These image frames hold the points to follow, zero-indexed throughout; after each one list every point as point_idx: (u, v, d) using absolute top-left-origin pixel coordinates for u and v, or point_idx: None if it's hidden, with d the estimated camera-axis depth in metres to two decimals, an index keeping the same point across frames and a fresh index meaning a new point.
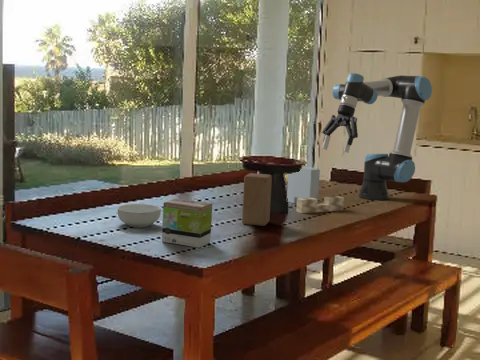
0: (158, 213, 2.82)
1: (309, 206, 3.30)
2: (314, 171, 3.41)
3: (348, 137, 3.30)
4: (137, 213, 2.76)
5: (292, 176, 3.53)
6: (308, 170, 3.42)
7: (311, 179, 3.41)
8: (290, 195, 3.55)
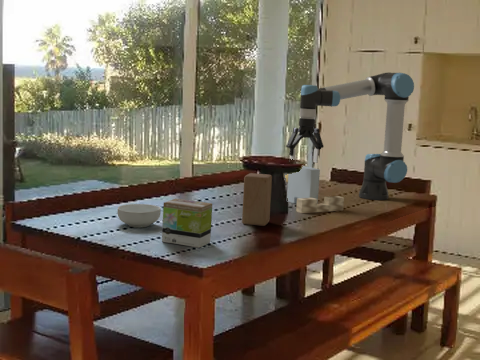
0: (158, 213, 2.82)
1: (309, 206, 3.30)
2: (314, 171, 3.41)
3: None
4: (137, 213, 2.76)
5: (292, 176, 3.53)
6: (308, 170, 3.42)
7: (311, 179, 3.41)
8: (290, 195, 3.55)
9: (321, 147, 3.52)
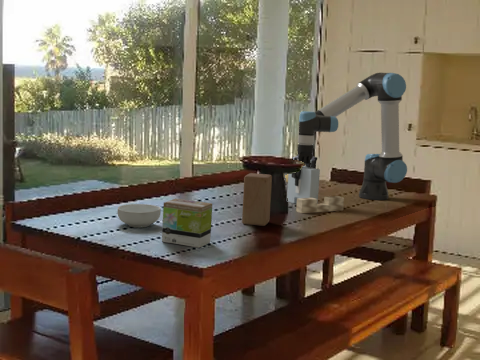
0: (158, 213, 2.82)
1: (309, 206, 3.30)
2: (314, 171, 3.41)
3: None
4: (137, 213, 2.76)
5: None
6: (308, 170, 3.42)
7: (311, 179, 3.41)
8: (290, 195, 3.55)
9: None
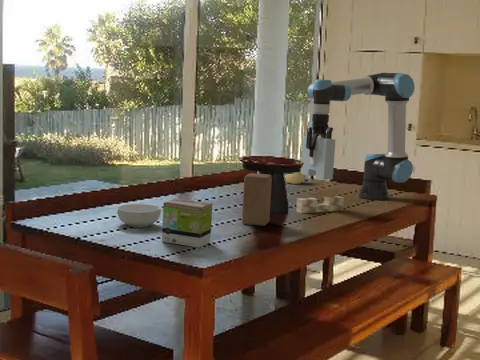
0: (158, 213, 2.82)
1: (309, 206, 3.30)
2: (329, 141, 3.27)
3: None
4: (137, 213, 2.76)
5: None
6: (323, 140, 3.28)
7: (326, 149, 3.27)
8: (304, 167, 3.41)
9: None
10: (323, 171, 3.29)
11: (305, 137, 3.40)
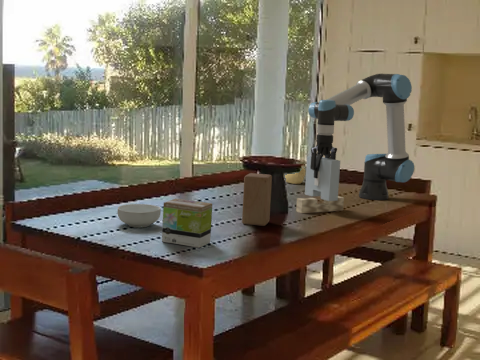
0: (158, 213, 2.82)
1: (309, 206, 3.30)
2: (334, 162, 3.25)
3: None
4: (137, 213, 2.76)
5: None
6: (328, 161, 3.26)
7: (331, 170, 3.25)
8: (308, 188, 3.39)
9: None
10: (328, 192, 3.26)
11: (309, 157, 3.37)
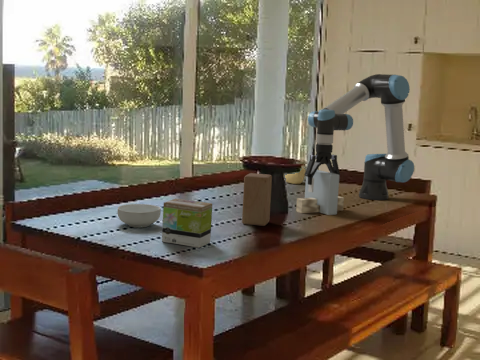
0: (158, 213, 2.82)
1: (309, 206, 3.30)
2: (333, 176, 3.26)
3: None
4: (137, 213, 2.76)
5: None
6: (327, 175, 3.27)
7: (330, 184, 3.25)
8: None
9: None
10: (327, 206, 3.27)
11: None
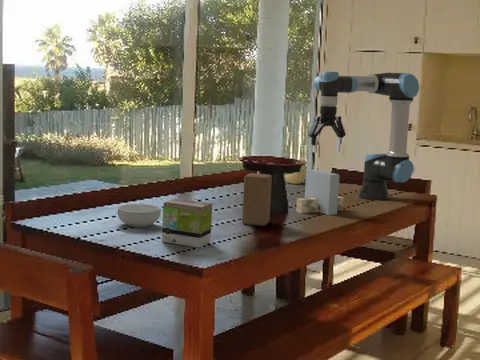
0: (158, 213, 2.82)
1: (309, 206, 3.30)
2: (333, 176, 3.26)
3: None
4: (137, 213, 2.76)
5: (310, 181, 3.38)
6: (327, 175, 3.27)
7: (330, 184, 3.25)
8: None
9: (343, 135, 3.41)
10: (327, 206, 3.27)
11: (308, 171, 3.38)
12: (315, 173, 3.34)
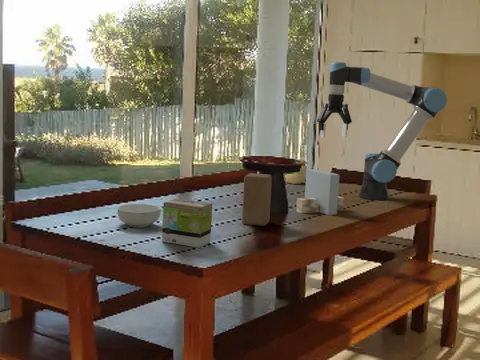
0: (158, 213, 2.82)
1: (309, 206, 3.30)
2: (333, 176, 3.26)
3: None
4: (137, 213, 2.76)
5: (310, 181, 3.38)
6: (327, 175, 3.27)
7: (330, 184, 3.25)
8: None
9: None
10: (327, 206, 3.27)
11: (308, 171, 3.38)
12: (315, 173, 3.34)
